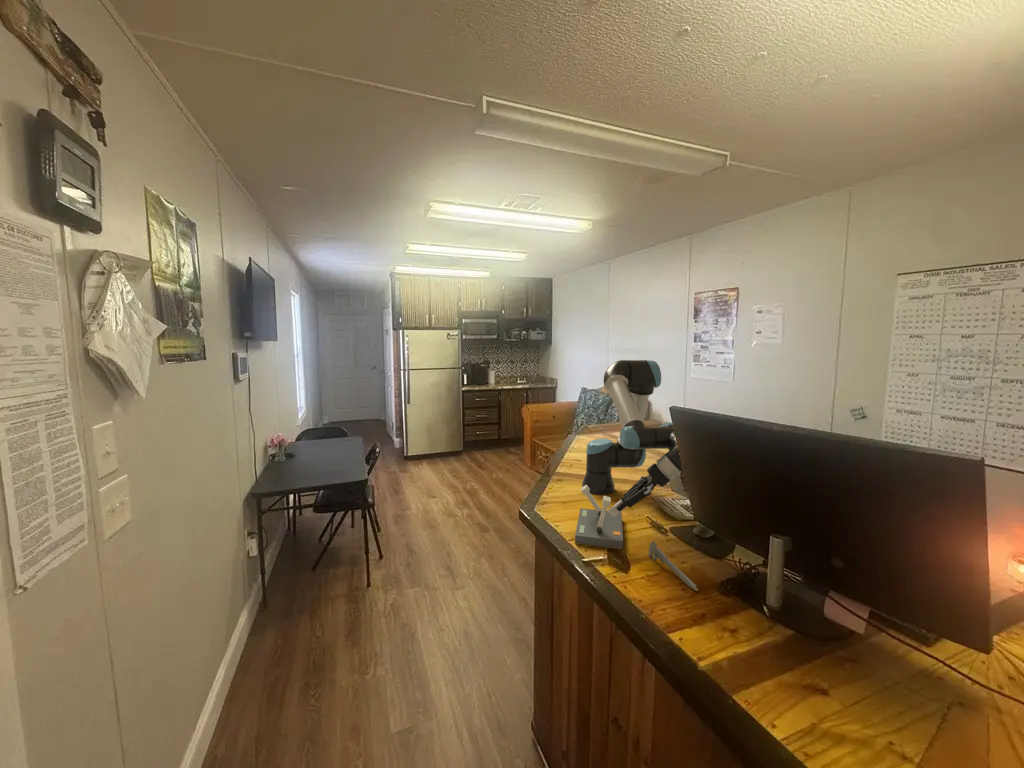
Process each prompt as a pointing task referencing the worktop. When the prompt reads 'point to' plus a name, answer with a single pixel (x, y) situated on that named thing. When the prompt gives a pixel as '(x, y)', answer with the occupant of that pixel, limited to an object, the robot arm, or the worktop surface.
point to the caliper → (669, 564)
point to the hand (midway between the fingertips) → (610, 514)
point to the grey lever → (603, 512)
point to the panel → (588, 529)
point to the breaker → (591, 498)
